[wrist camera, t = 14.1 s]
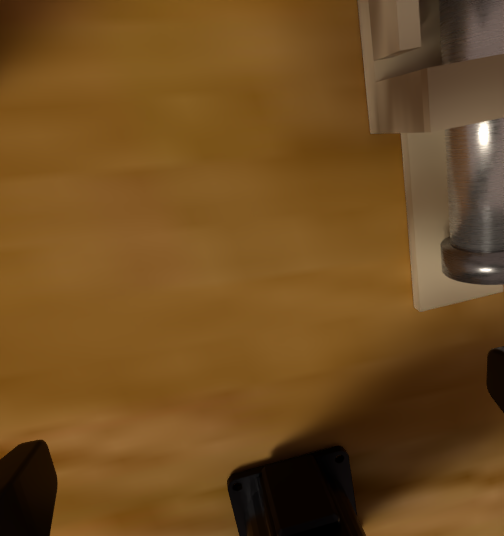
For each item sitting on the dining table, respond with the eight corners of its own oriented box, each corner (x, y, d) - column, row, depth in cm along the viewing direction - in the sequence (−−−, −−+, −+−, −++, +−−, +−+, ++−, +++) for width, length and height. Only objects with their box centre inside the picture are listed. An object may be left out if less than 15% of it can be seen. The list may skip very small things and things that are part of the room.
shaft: (499, 248, 21) (566, 270, 18) (425, 265, 21) (477, 292, 17) (496, -36, 18) (578, -80, 14) (406, -21, 17) (466, -63, 14)
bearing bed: (520, 281, 23) (609, 319, 18) (387, 313, 22) (445, 361, 17) (521, -212, 17) (657, -349, 12) (339, -189, 16) (406, -326, 11)
